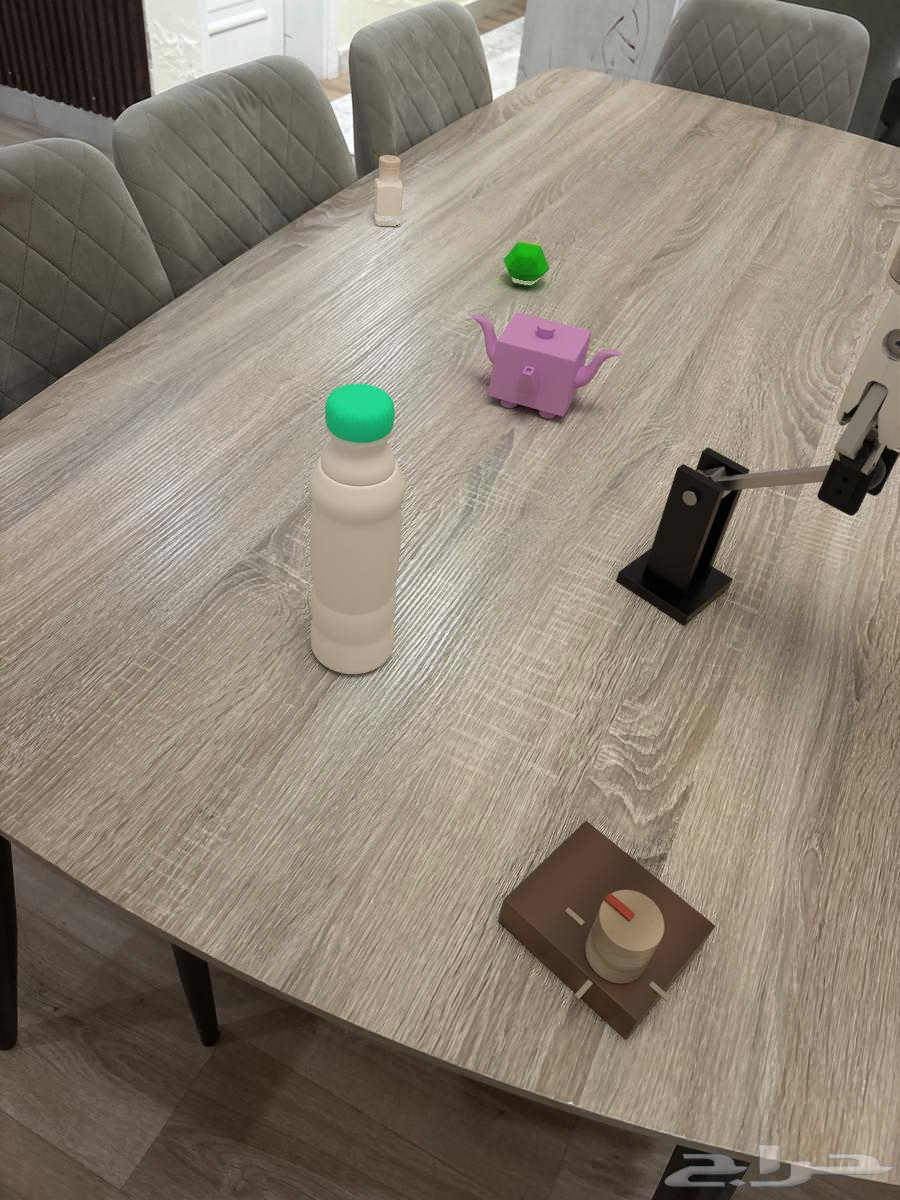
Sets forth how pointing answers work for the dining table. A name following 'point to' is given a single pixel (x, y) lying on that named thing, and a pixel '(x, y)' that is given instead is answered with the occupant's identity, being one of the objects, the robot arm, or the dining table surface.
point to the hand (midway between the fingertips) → (848, 494)
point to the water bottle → (355, 532)
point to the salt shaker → (388, 189)
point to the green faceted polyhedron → (526, 262)
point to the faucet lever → (779, 477)
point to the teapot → (539, 363)
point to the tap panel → (568, 910)
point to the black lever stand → (687, 543)
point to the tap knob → (624, 936)
